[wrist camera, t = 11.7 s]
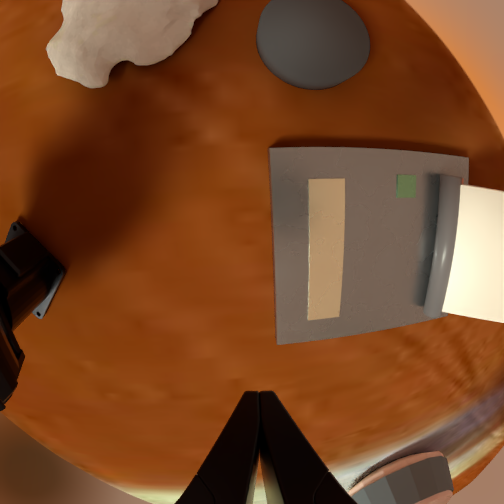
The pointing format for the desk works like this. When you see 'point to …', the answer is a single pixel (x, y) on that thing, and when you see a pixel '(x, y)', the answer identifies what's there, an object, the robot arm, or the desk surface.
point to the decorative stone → (119, 35)
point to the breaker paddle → (467, 252)
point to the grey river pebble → (312, 42)
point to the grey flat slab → (353, 237)
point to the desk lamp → (407, 482)
